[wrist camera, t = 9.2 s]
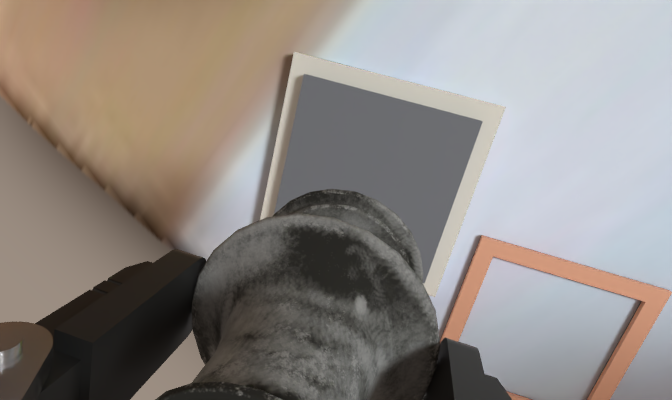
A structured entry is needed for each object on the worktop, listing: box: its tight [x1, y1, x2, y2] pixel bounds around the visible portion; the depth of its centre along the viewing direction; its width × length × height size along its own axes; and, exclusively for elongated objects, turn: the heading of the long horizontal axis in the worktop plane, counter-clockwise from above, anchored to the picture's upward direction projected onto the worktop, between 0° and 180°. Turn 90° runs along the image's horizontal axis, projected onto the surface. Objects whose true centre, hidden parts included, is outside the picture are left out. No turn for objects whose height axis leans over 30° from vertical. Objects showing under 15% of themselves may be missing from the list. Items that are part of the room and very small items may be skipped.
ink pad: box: [260, 52, 506, 297], centre depth 24 cm, size 12×12×2 cm
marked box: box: [440, 235, 672, 400], centre depth 26 cm, size 11×11×1 cm
